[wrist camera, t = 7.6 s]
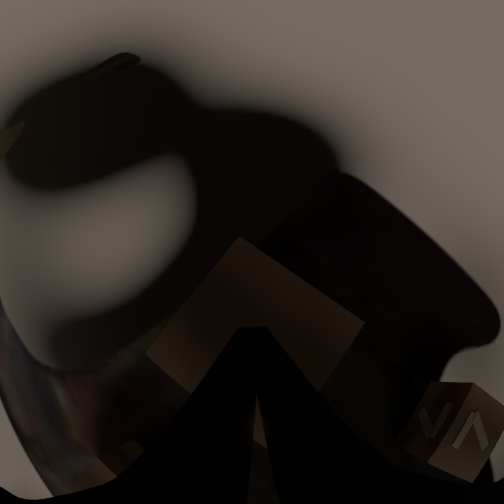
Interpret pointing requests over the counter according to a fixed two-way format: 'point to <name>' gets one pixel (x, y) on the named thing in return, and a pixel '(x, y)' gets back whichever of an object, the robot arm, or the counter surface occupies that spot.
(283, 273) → the plain walnut block
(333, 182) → the counter surface
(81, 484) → the walnut cube
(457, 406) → the walnut cube
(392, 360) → the counter surface
